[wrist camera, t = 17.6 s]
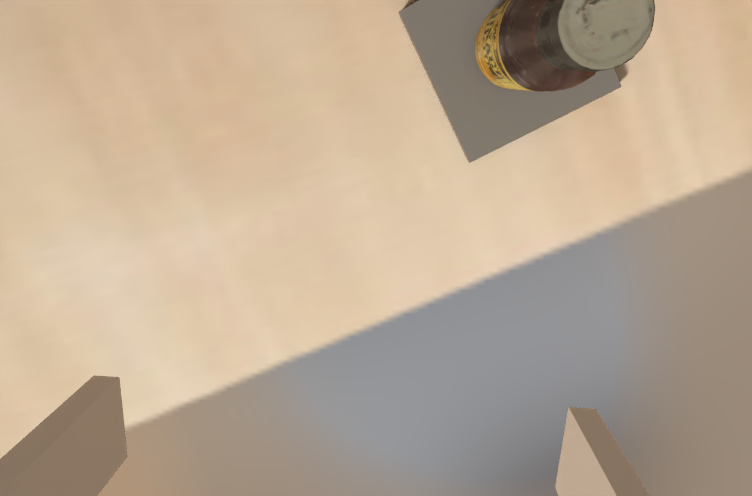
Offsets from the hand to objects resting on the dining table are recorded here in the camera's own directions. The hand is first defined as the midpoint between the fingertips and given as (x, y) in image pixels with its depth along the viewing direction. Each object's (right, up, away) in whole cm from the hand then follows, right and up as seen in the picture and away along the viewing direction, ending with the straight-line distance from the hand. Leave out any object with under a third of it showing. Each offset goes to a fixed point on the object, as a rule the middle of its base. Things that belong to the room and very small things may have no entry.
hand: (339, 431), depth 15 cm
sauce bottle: (+12, +21, +25) cm, 35 cm away
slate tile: (+12, +21, +26) cm, 36 cm away
